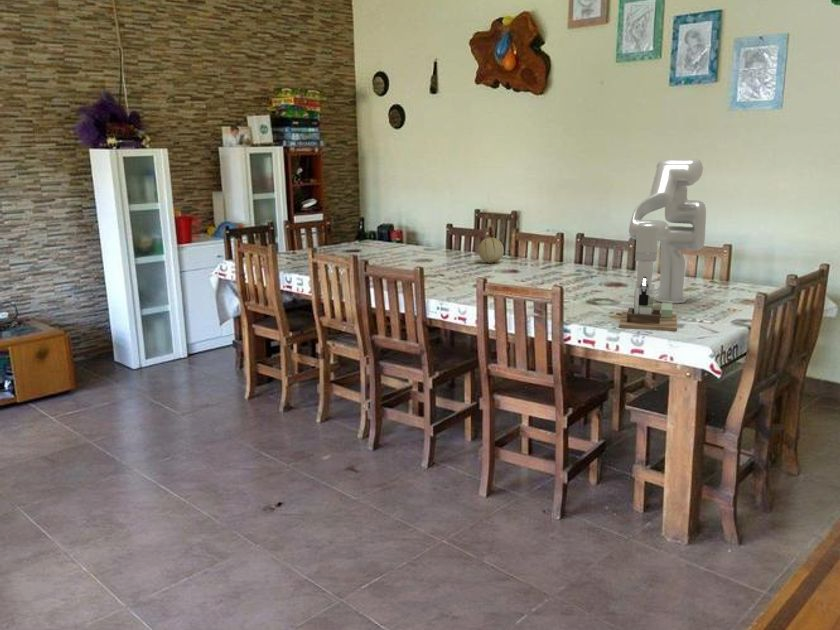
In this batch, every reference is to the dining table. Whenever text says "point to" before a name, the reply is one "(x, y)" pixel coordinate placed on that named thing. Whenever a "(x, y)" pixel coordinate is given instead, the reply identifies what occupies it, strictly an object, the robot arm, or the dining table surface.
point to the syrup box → (649, 308)
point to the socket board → (647, 321)
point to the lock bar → (666, 310)
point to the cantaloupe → (491, 250)
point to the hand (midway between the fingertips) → (643, 302)
